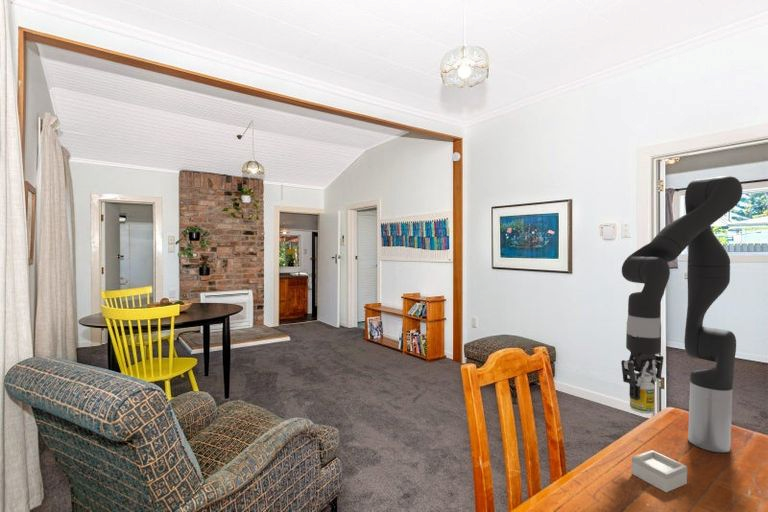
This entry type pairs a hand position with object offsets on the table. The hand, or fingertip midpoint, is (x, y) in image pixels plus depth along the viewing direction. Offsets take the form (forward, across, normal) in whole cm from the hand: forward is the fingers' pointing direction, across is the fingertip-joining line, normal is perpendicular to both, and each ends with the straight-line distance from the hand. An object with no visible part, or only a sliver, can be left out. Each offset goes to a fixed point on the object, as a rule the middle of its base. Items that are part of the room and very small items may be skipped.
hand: (641, 396), depth 102 cm
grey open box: (+17, +4, +7) cm, 19 cm away
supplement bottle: (+4, 0, 0) cm, 4 cm away
